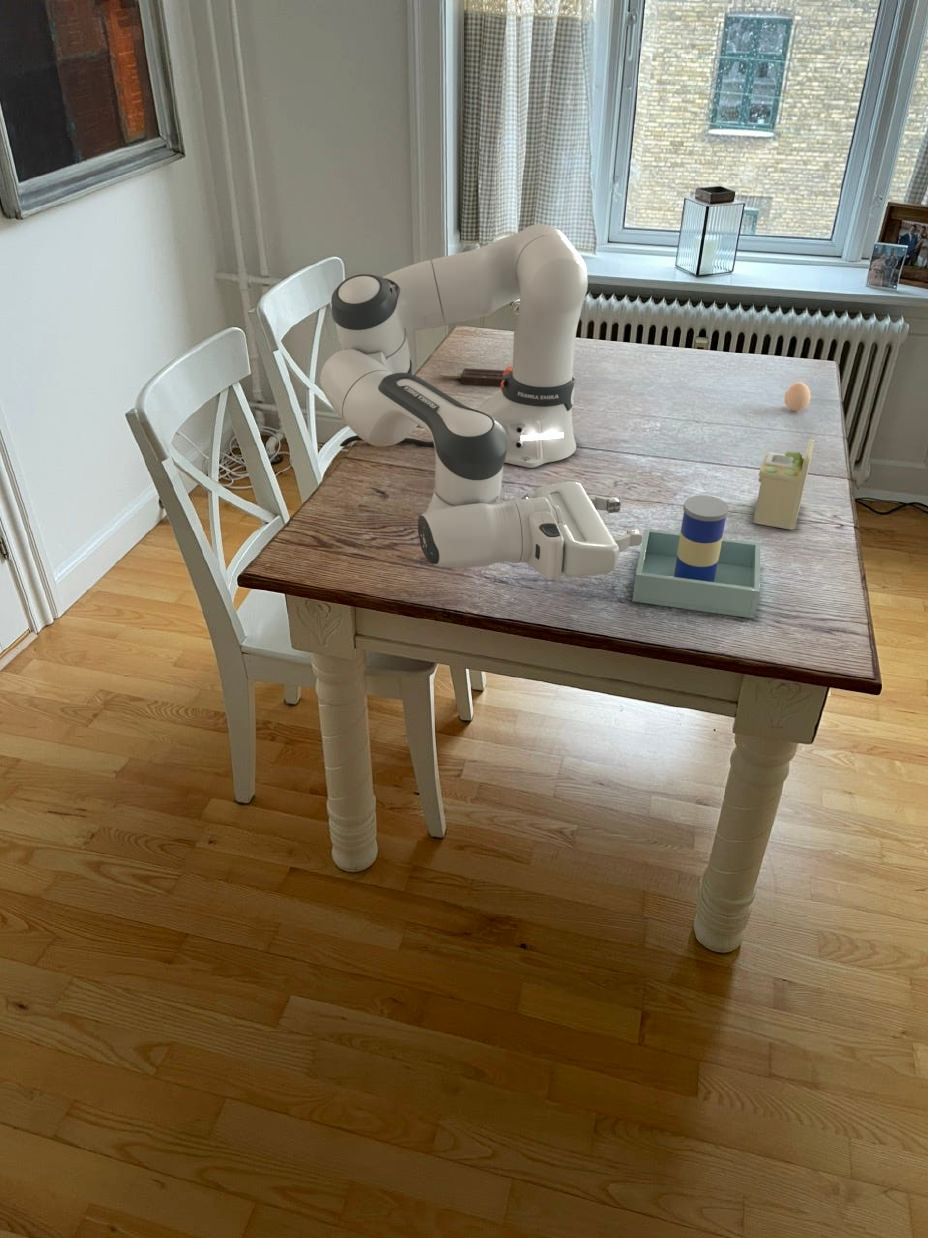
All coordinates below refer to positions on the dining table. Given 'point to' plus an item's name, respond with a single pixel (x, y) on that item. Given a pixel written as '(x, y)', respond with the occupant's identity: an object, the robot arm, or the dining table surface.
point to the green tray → (725, 595)
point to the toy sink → (782, 487)
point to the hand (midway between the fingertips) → (629, 520)
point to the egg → (797, 396)
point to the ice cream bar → (478, 376)
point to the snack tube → (700, 538)
